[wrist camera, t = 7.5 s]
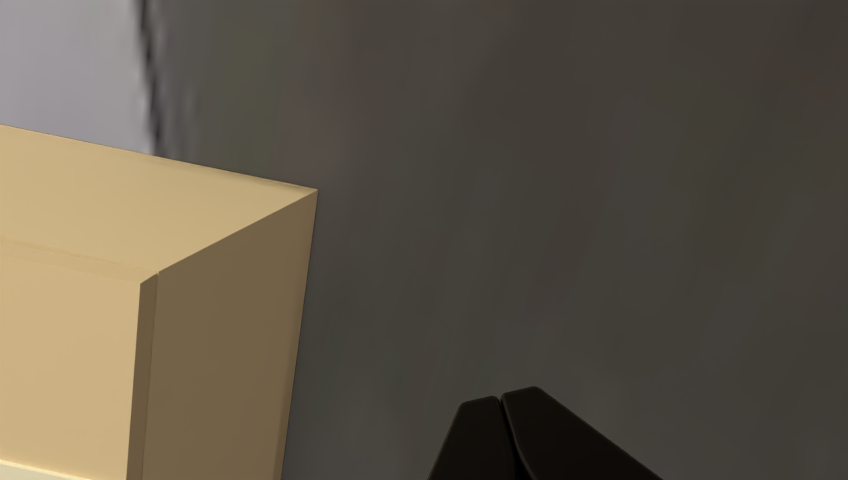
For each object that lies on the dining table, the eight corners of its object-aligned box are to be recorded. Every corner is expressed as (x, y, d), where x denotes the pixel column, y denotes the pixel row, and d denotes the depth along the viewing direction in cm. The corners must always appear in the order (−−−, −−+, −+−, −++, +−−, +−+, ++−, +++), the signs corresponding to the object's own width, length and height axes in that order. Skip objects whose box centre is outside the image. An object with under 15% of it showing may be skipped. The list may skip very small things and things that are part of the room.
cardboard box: (318, 189, 21) (158, 270, 13) (267, 584, 24) (113, 836, 16) (-26, 119, 22) (-348, 155, 15) (-32, 498, 25) (-300, 692, 18)
